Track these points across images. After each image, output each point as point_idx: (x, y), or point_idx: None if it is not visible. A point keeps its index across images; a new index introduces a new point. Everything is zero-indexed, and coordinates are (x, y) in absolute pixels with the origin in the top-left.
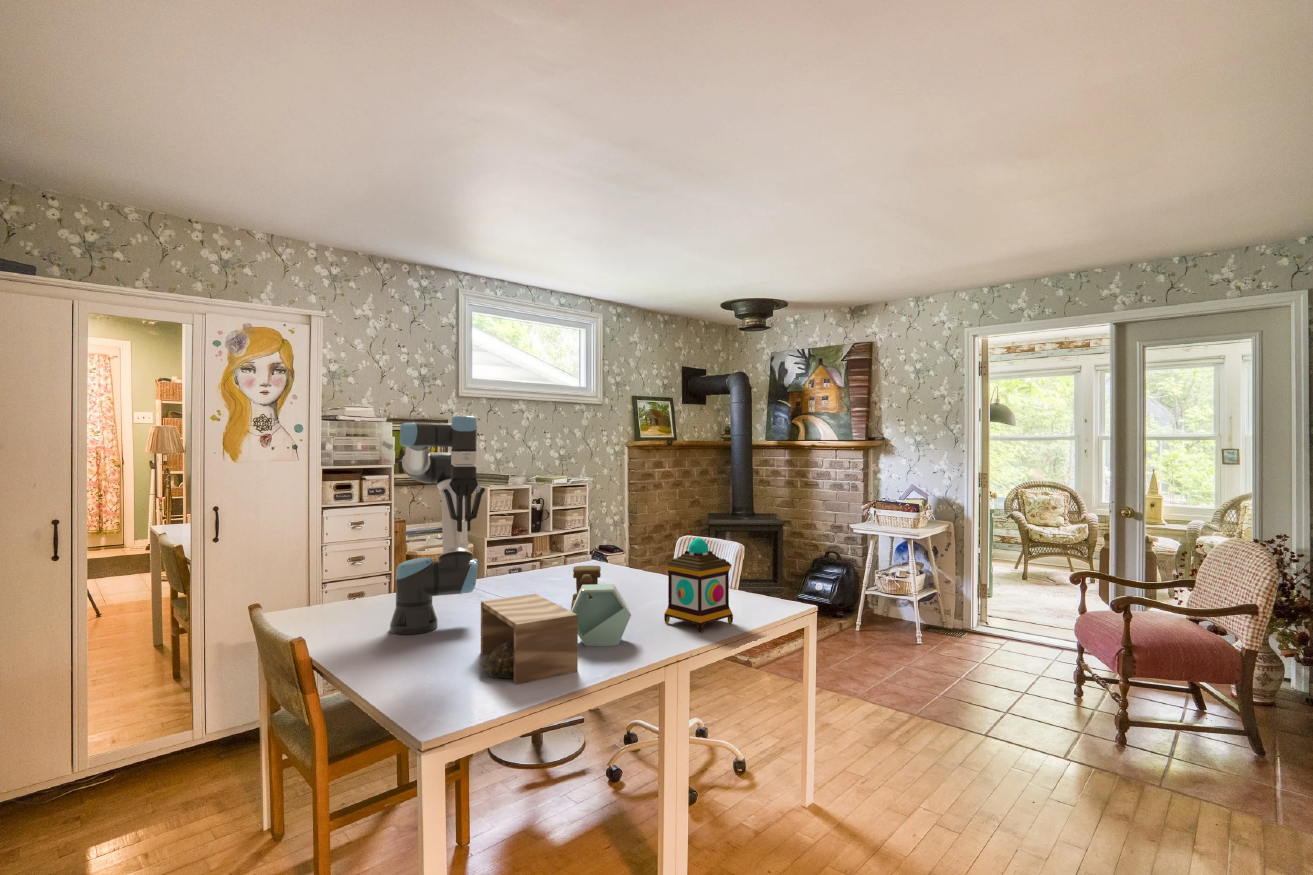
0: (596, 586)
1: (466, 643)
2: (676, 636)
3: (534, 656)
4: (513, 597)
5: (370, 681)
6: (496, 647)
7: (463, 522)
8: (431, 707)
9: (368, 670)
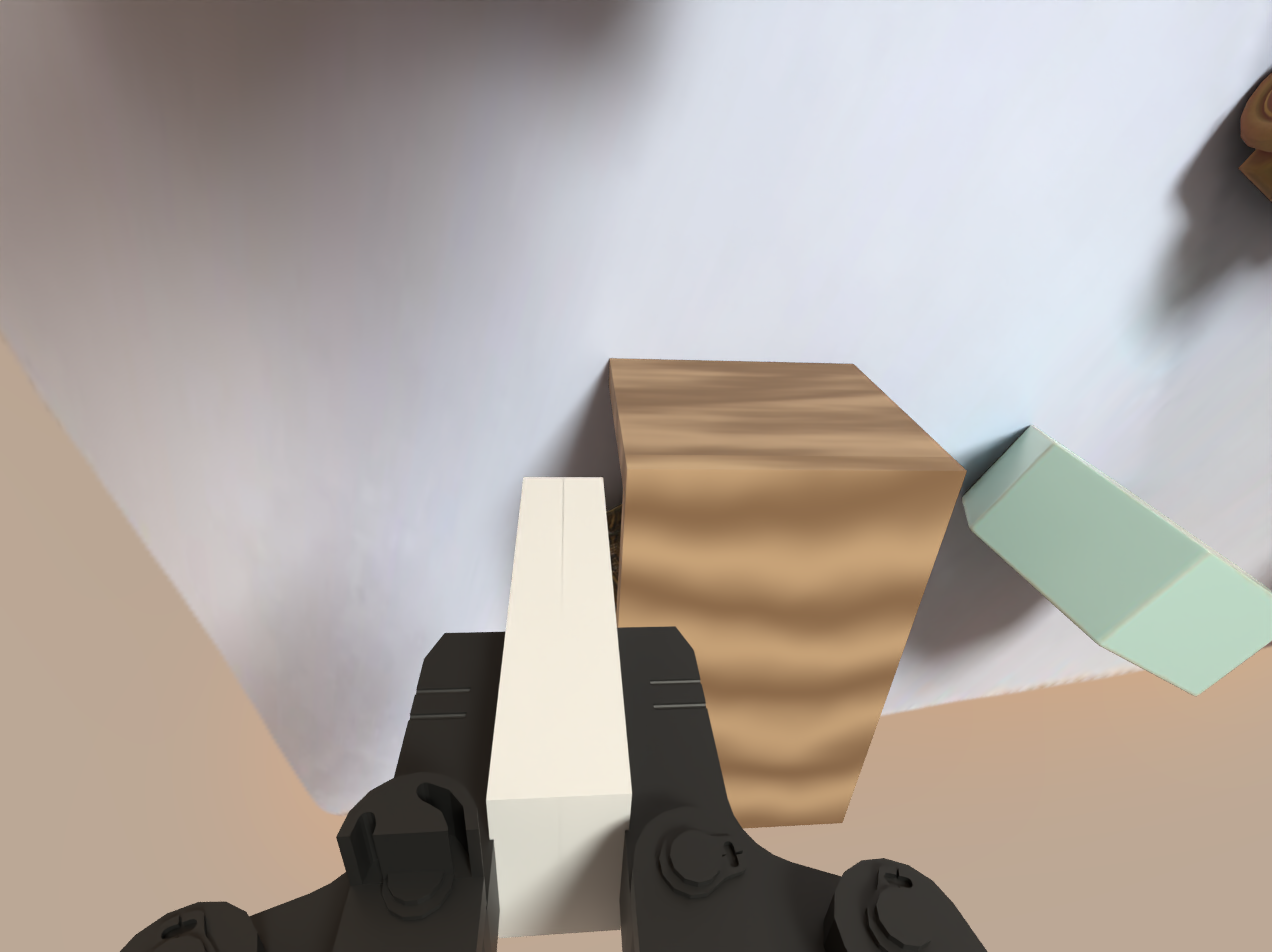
0: (1208, 620)
1: (603, 170)
2: (1237, 562)
3: None
4: (819, 485)
5: (152, 443)
6: (612, 555)
7: (528, 909)
8: (353, 700)
9: (121, 311)
